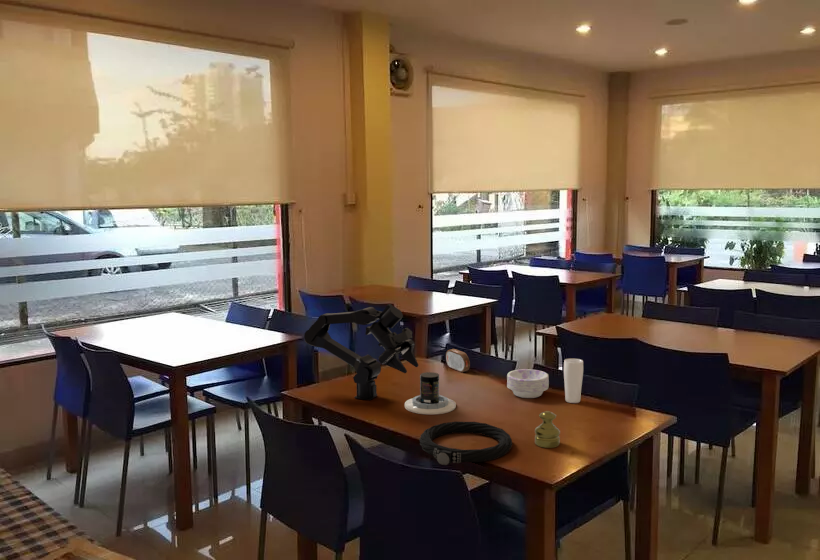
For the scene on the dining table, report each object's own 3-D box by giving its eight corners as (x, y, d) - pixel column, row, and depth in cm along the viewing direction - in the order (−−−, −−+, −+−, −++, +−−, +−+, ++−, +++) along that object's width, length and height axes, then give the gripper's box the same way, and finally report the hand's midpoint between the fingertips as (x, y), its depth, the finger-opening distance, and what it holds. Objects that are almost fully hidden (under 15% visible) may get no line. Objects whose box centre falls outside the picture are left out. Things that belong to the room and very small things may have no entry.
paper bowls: (506, 399, 250) (506, 378, 249) (507, 388, 265) (507, 368, 264) (548, 401, 247) (549, 380, 246) (548, 389, 262) (548, 369, 261)
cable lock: (524, 427, 210) (489, 461, 184) (524, 439, 211) (489, 475, 185) (442, 414, 223) (398, 444, 197) (442, 425, 224) (398, 457, 197)
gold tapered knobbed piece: (530, 445, 205) (531, 412, 204) (540, 437, 211) (541, 406, 210) (554, 450, 201) (554, 417, 200) (563, 442, 207) (564, 410, 206)
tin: (470, 373, 287) (470, 353, 285) (464, 374, 285) (464, 354, 284) (450, 365, 299) (450, 346, 298) (444, 366, 298) (444, 347, 297)
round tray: (396, 410, 238) (396, 403, 238) (416, 396, 255) (416, 389, 254) (444, 417, 231) (444, 410, 231) (462, 402, 247) (462, 395, 247)
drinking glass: (562, 403, 245) (563, 362, 243) (563, 398, 251) (564, 357, 249) (581, 405, 243) (582, 363, 241) (582, 399, 249) (583, 359, 247)
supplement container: (440, 401, 245) (440, 372, 244) (437, 407, 239) (437, 377, 237) (422, 400, 247) (421, 371, 245) (418, 405, 240) (418, 376, 239)
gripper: (385, 326, 236) (415, 361, 233) (409, 317, 253) (437, 349, 249) (366, 346, 241) (394, 381, 237) (391, 336, 257) (417, 368, 254)
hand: (412, 369), depth 244 cm, fingers open, 9 cm apart
